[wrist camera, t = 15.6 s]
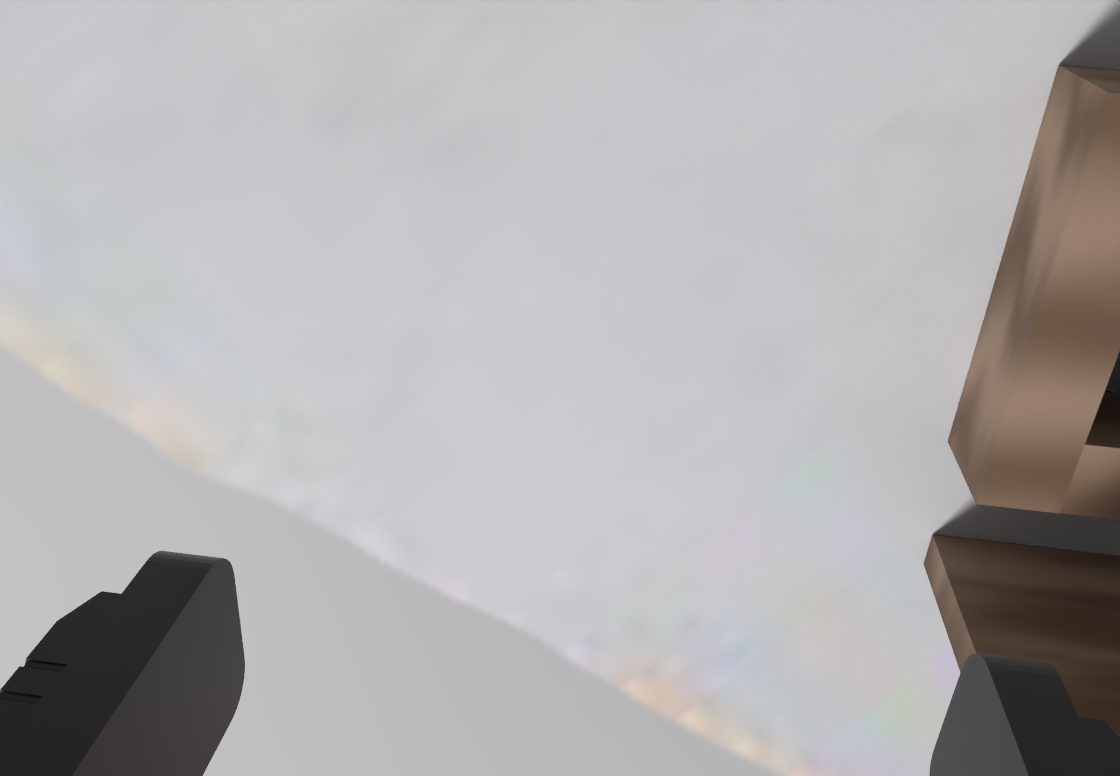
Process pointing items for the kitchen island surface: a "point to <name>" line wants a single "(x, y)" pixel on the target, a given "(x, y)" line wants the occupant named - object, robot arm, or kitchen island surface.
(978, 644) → the grey-capped wooden panel
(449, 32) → the kitchen island surface
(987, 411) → the socket block
